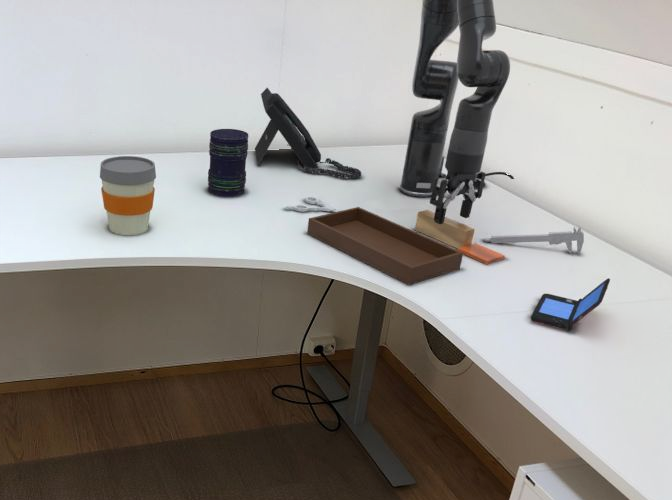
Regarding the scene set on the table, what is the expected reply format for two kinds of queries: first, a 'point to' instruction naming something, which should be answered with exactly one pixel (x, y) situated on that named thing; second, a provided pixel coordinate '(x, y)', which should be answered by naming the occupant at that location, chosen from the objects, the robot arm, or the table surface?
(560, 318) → the handheld console
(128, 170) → the reusable coffee cup
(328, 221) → the tray
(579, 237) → the caliper
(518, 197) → the table surface
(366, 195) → the table surface
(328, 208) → the scissors
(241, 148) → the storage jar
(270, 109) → the office phone
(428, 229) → the tan and orange bar
